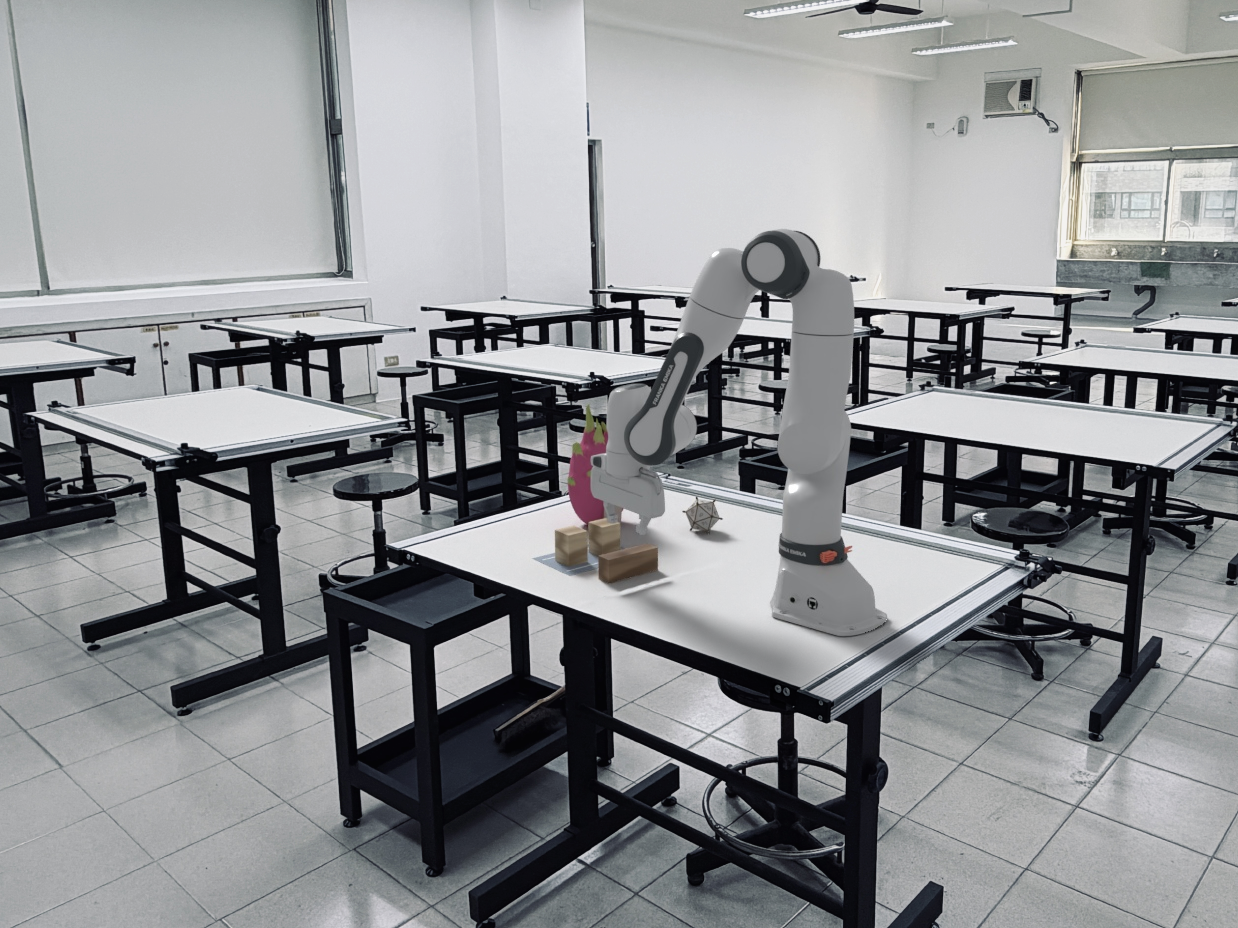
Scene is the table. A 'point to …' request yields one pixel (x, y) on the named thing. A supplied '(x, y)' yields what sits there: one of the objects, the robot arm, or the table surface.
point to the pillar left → (571, 546)
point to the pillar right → (603, 537)
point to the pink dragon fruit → (587, 472)
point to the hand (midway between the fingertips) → (626, 528)
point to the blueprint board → (571, 570)
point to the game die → (702, 515)
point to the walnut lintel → (627, 563)
